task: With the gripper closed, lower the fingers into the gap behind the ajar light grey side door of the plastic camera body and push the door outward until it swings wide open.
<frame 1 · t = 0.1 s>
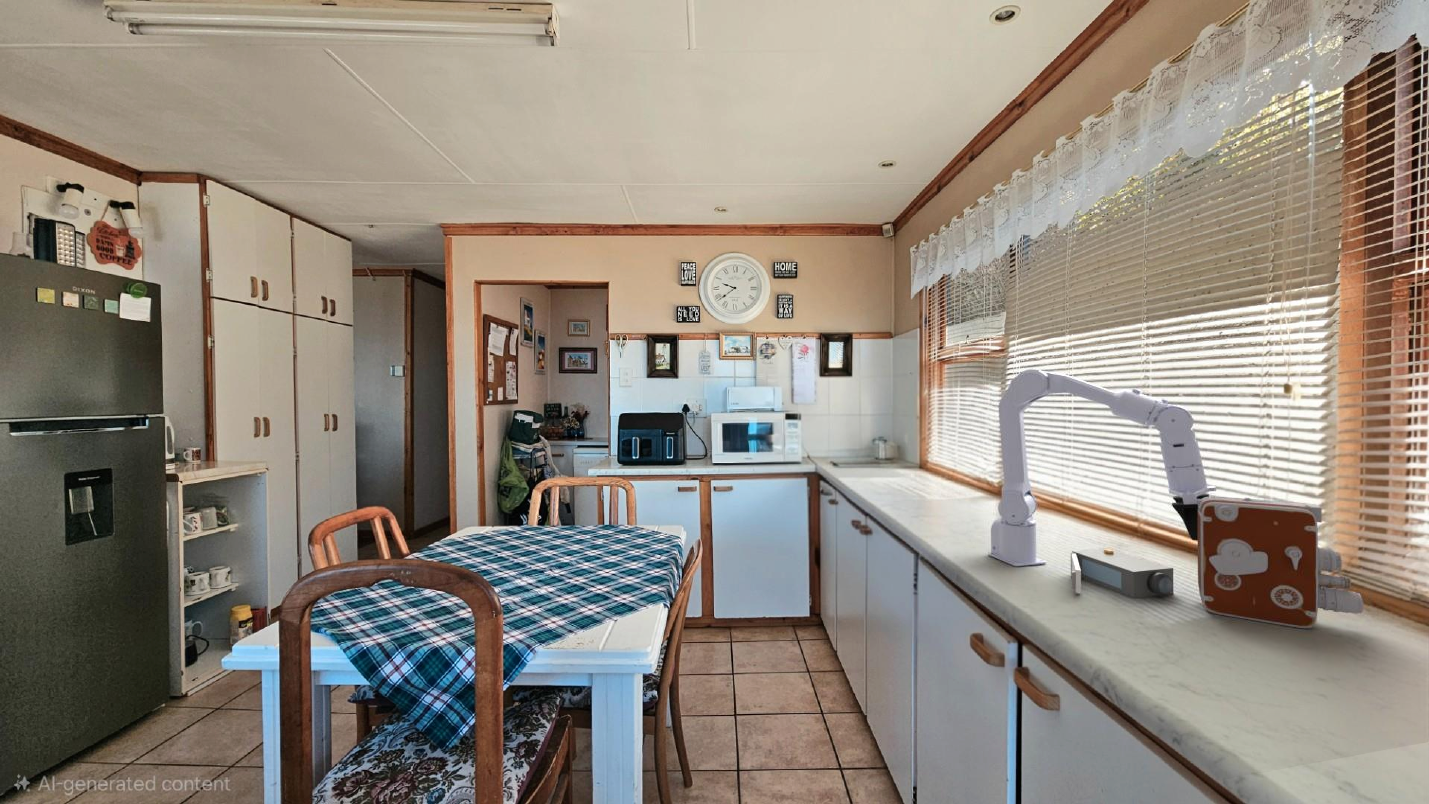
hand: (1198, 535, 107), 11 cm above the countertop, tool pointing down, fingers open, 7 cm apart
camera body: (1120, 583, 111), on the countertop
cine camera: (1274, 620, 93), on the countertop
side door: (1074, 572, 111), point 3 cm above the countertop, hinge at 40.0°
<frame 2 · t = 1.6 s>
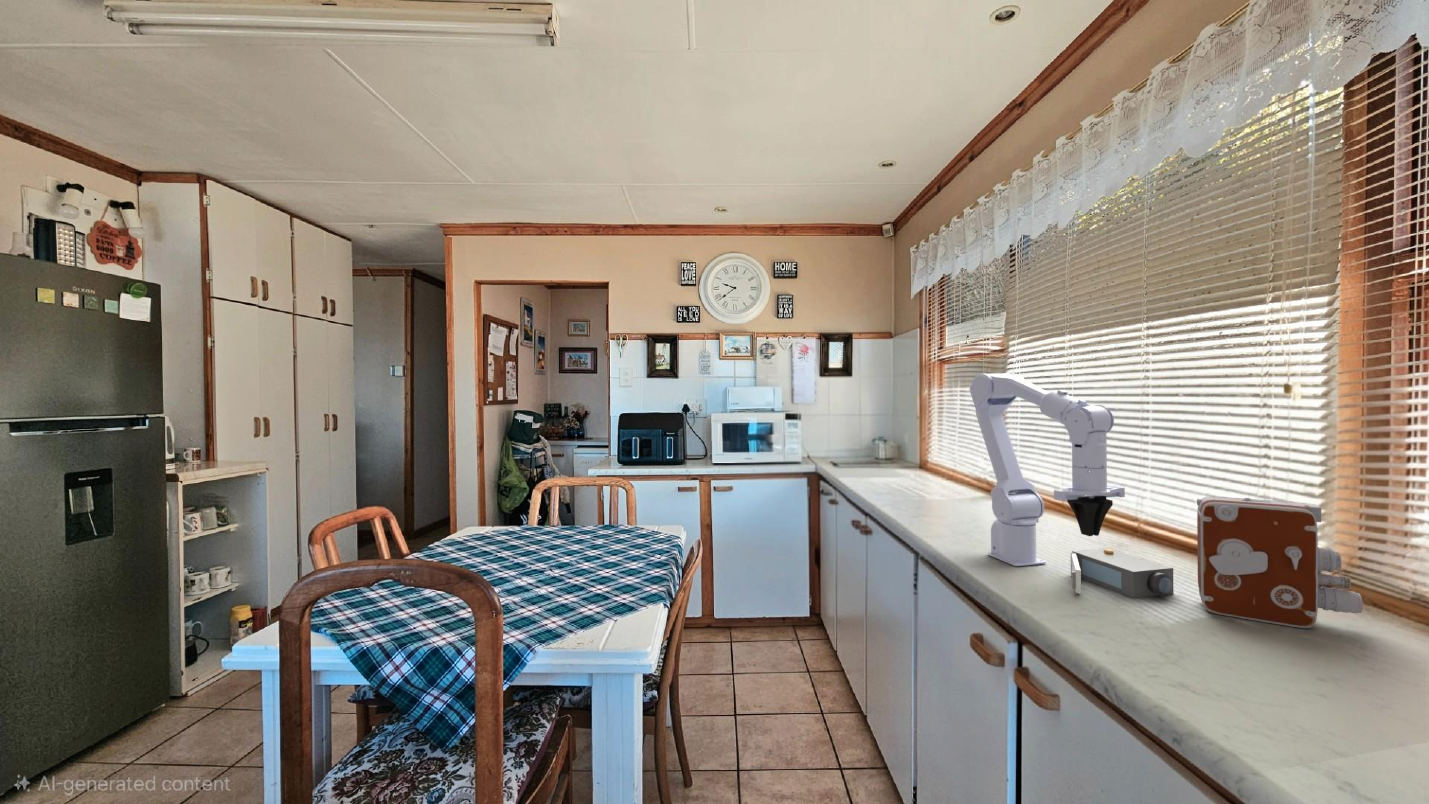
hand: (1089, 534, 110), 10 cm above the countertop, tool pointing down, fingers closed
nothing on the countertop moved.
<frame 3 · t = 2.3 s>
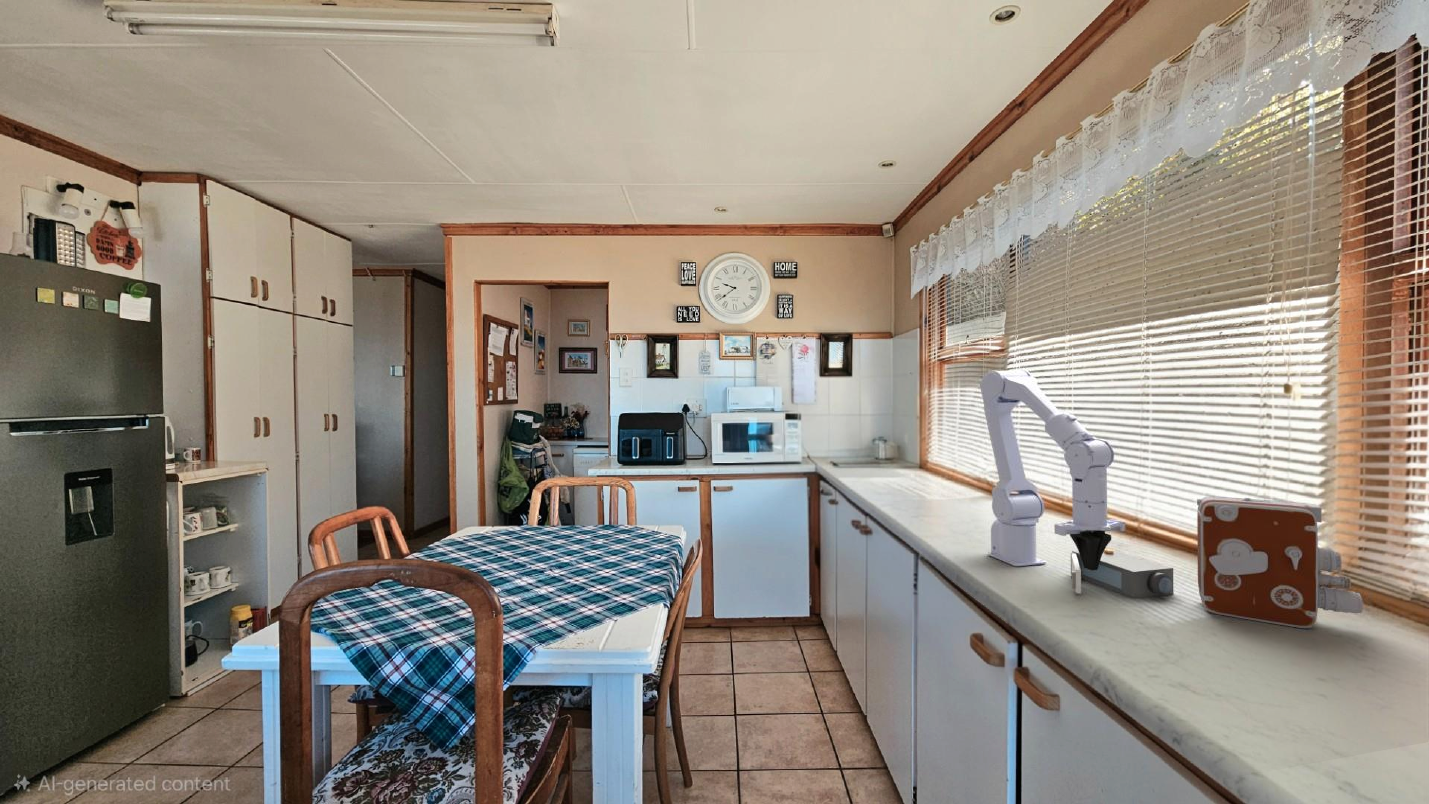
hand: (1090, 568, 110), 4 cm above the countertop, tool pointing down, fingers closed
nothing on the countertop moved.
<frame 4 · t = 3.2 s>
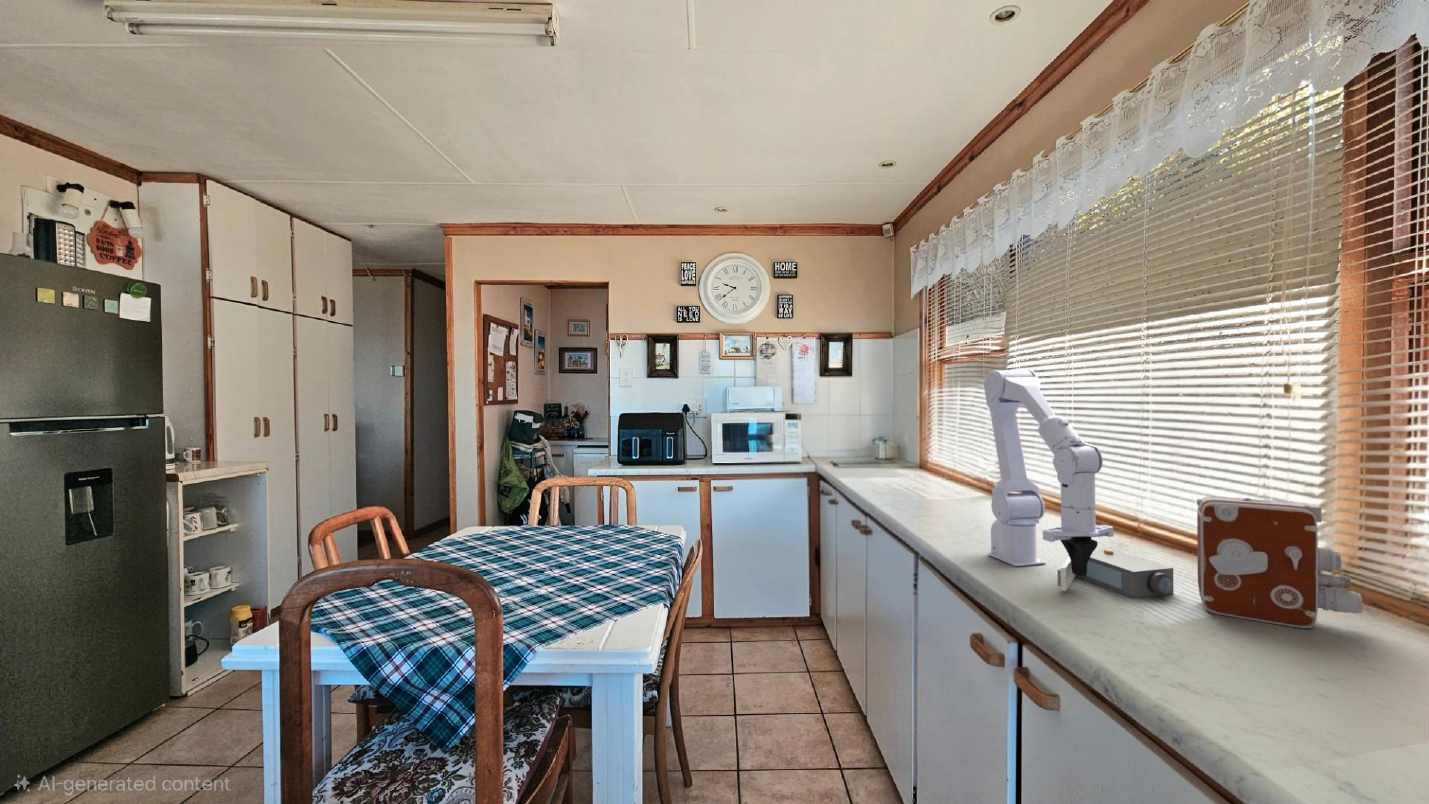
hand: (1078, 574, 109), 3 cm above the countertop, tool pointing down, fingers closed, pressing on side door
side door: (1067, 570, 112), point 3 cm above the countertop, hinge at 51.8°, touching gripper
everything else where it was.
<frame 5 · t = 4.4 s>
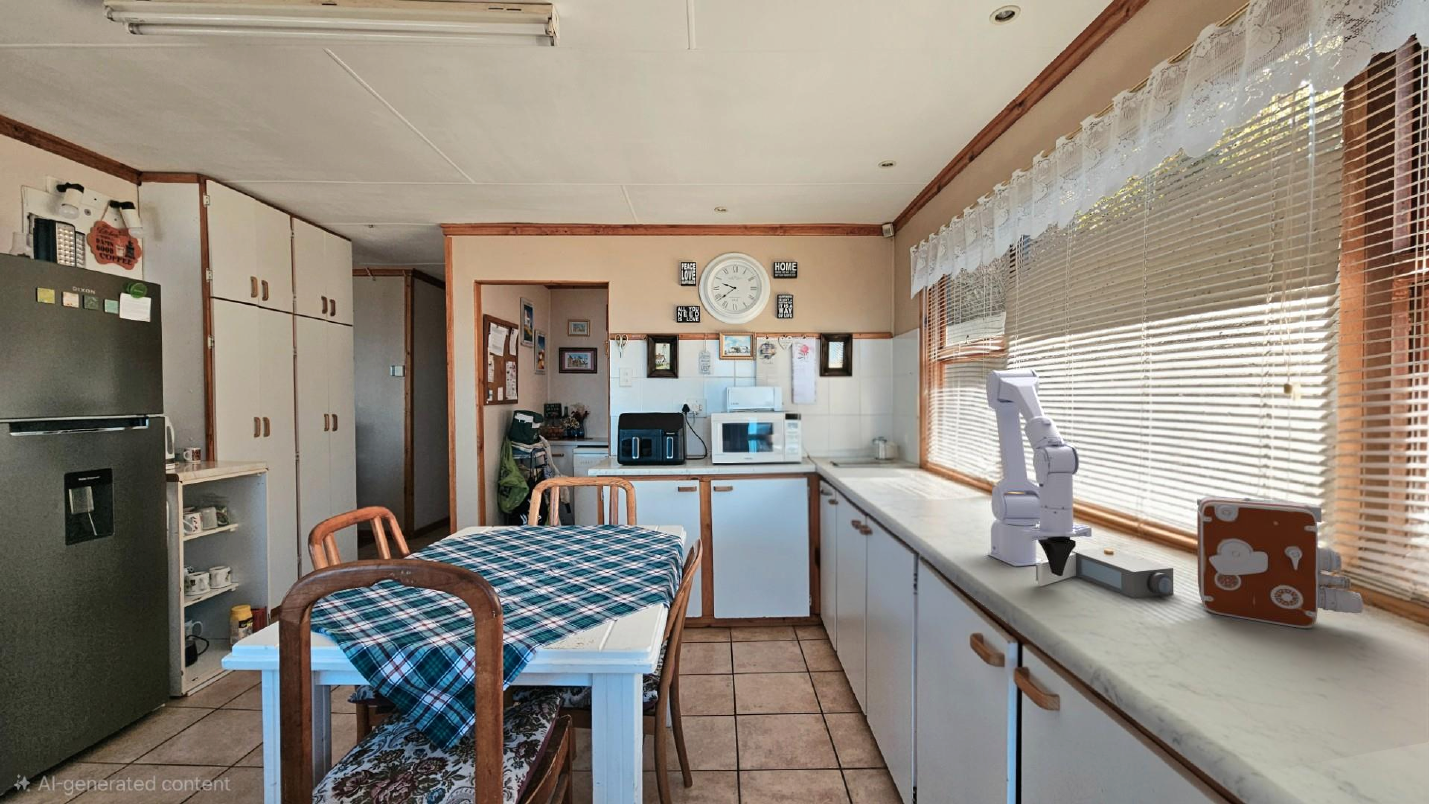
hand: (1056, 574, 110), 3 cm above the countertop, tool pointing down, fingers closed, pressing on side door
side door: (1056, 568, 114), point 3 cm above the countertop, hinge at 71.9°, touching gripper
everything else where it was.
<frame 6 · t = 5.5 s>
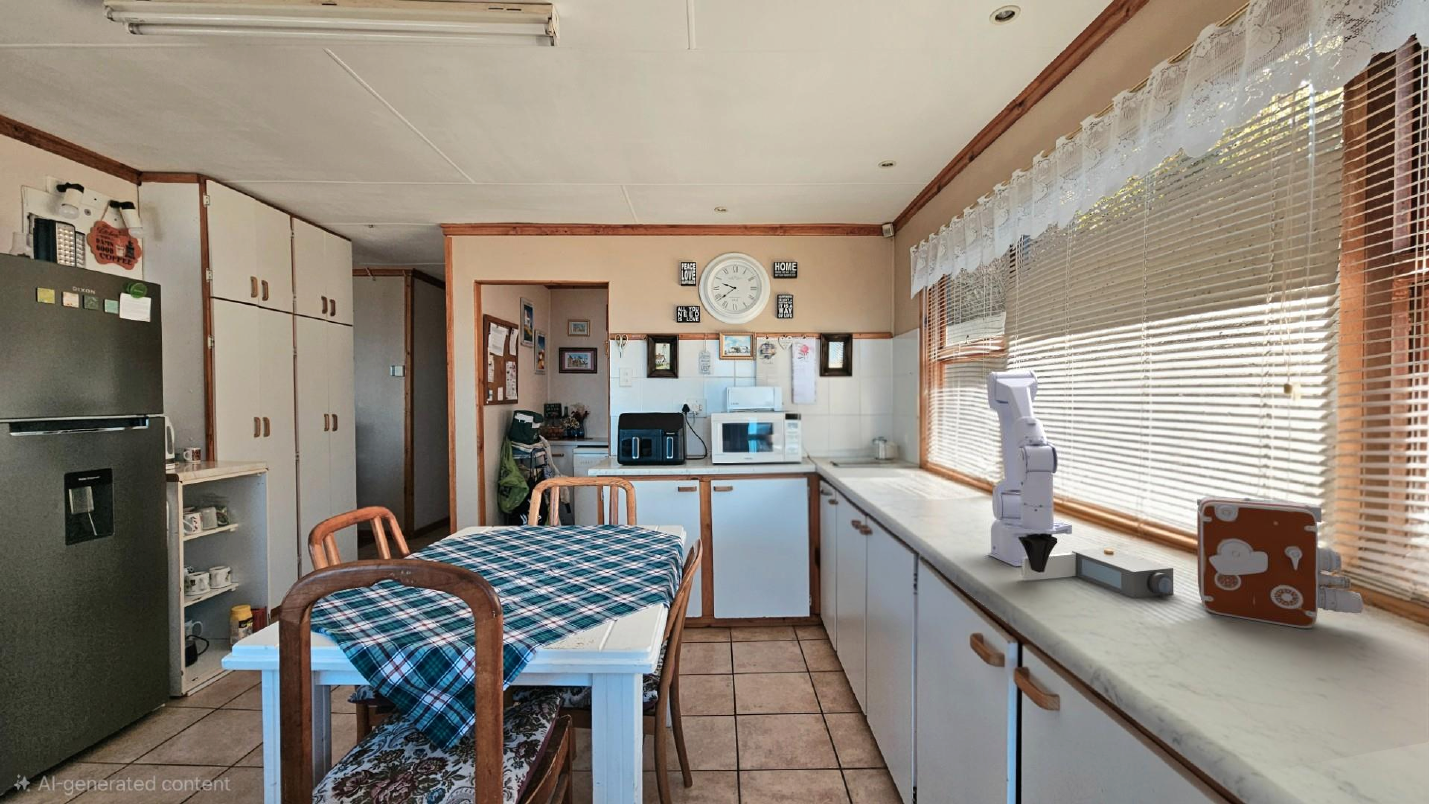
hand: (1037, 570, 112), 3 cm above the countertop, tool pointing down, fingers closed
side door: (1048, 565, 116), point 3 cm above the countertop, hinge at 90.0°
everything else where it was.
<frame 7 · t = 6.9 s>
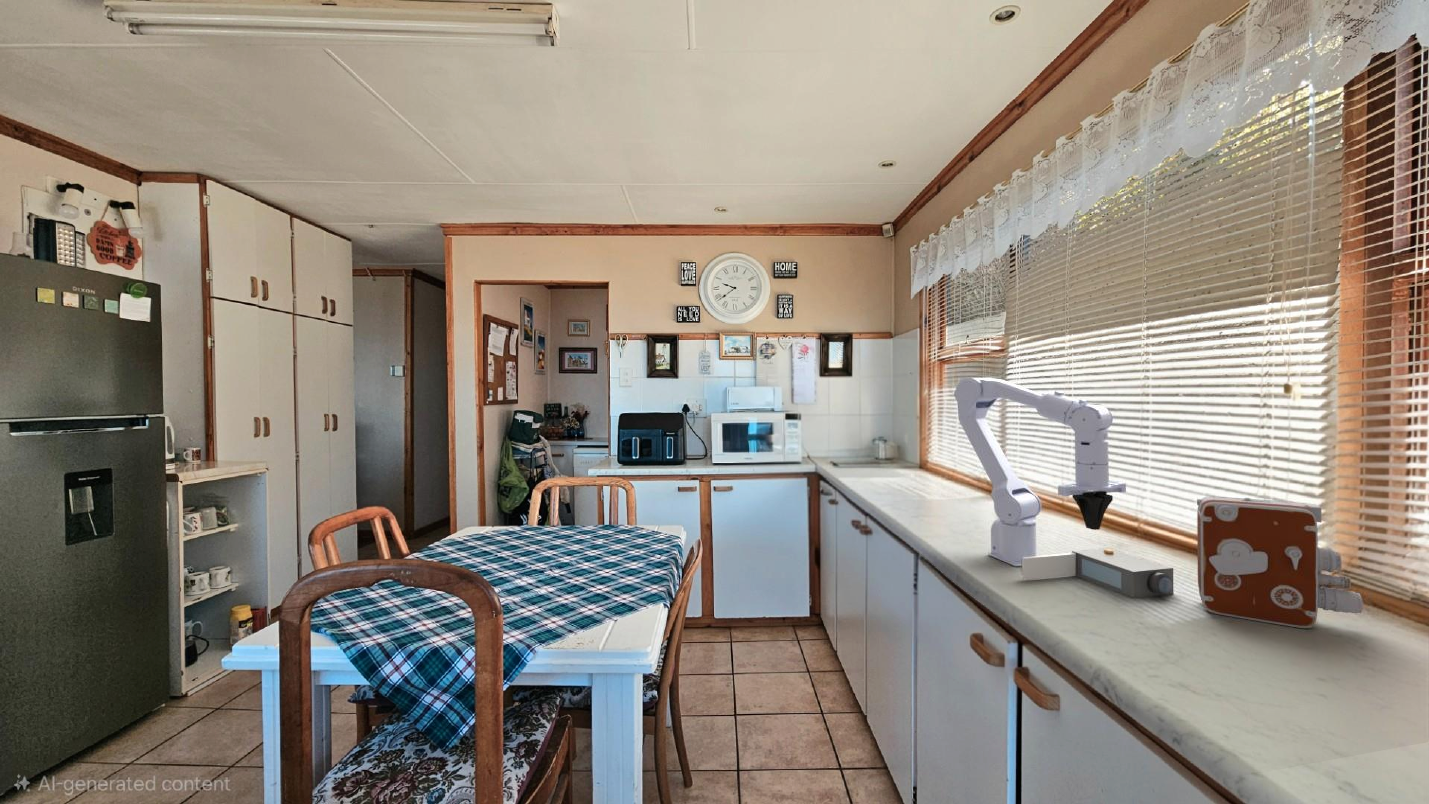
hand: (1092, 528, 115), 10 cm above the countertop, tool pointing down, fingers closed
nothing on the countertop moved.
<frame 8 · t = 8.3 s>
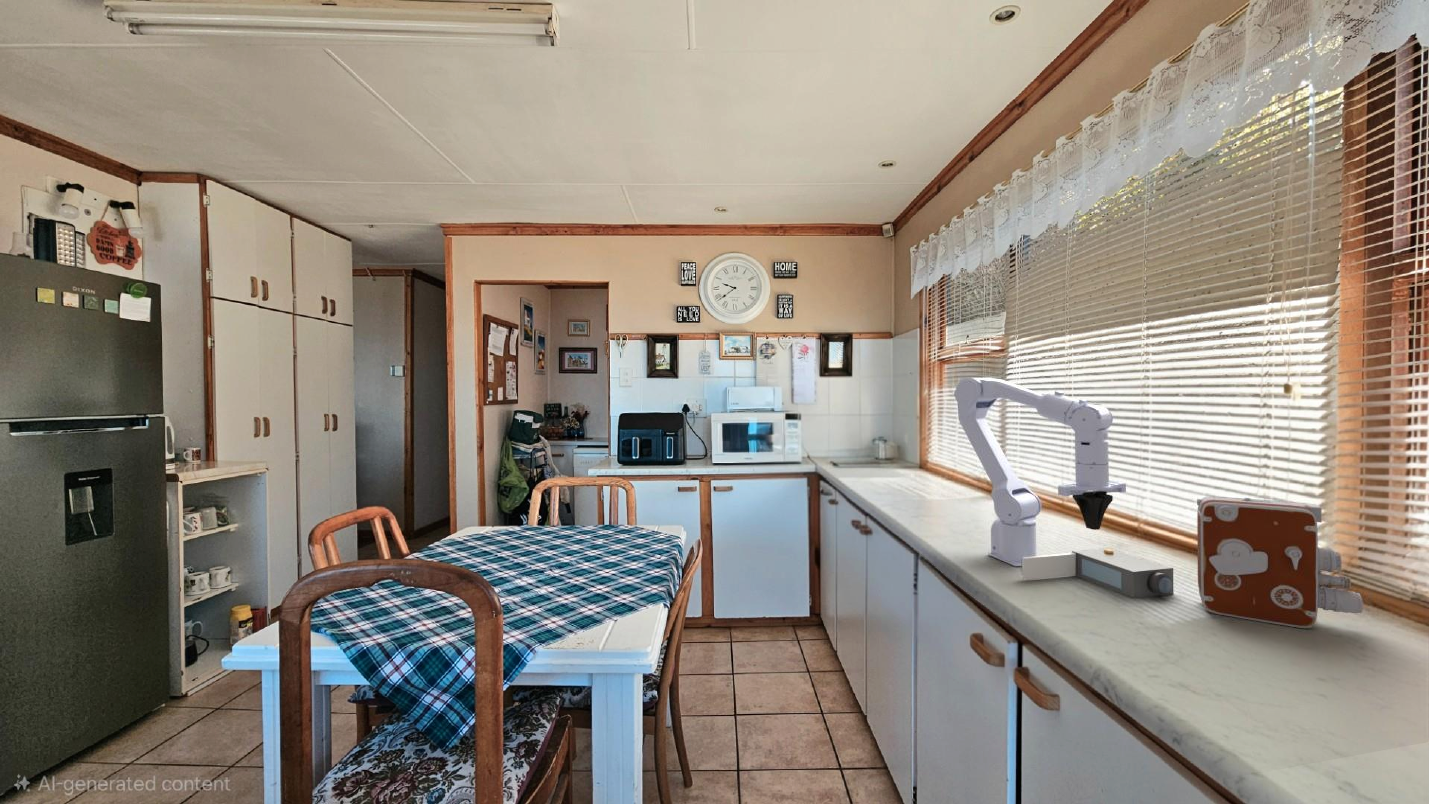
hand: (1092, 528, 115), 10 cm above the countertop, tool pointing down, fingers closed
nothing on the countertop moved.
at the end: side door at +90° (first picture: +40°) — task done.
